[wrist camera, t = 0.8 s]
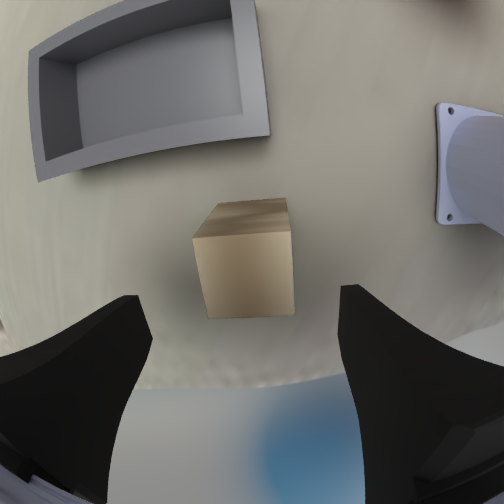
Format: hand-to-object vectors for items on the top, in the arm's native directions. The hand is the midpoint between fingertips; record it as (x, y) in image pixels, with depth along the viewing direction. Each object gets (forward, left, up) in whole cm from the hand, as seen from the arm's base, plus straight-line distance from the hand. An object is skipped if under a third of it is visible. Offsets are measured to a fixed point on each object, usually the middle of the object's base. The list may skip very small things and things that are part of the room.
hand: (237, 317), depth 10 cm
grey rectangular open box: (+5, -10, -9) cm, 14 cm away
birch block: (0, 0, -9) cm, 9 cm away
